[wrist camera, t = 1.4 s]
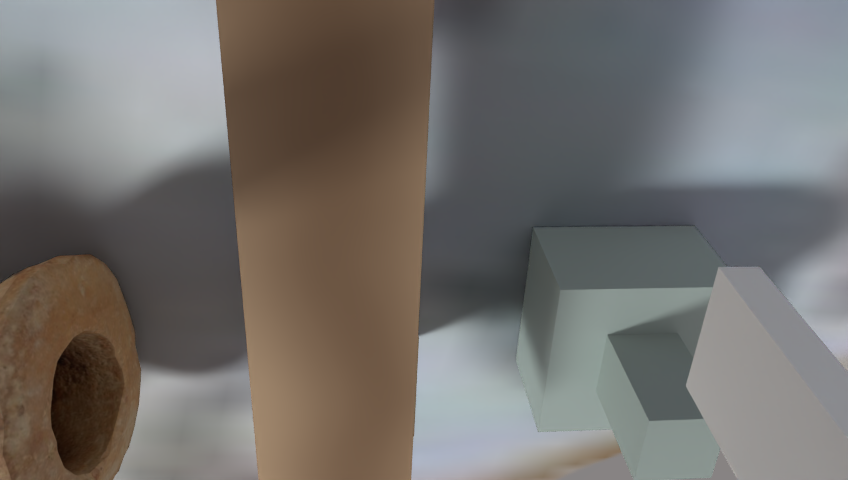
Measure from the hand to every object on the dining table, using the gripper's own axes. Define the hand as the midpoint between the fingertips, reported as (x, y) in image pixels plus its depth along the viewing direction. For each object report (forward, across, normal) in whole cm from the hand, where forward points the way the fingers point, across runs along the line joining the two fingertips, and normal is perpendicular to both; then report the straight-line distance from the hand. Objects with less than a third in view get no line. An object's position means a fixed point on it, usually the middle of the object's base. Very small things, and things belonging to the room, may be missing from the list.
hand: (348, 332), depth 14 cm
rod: (+8, 0, 0) cm, 8 cm away
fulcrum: (+13, +10, -8) cm, 18 cm away
